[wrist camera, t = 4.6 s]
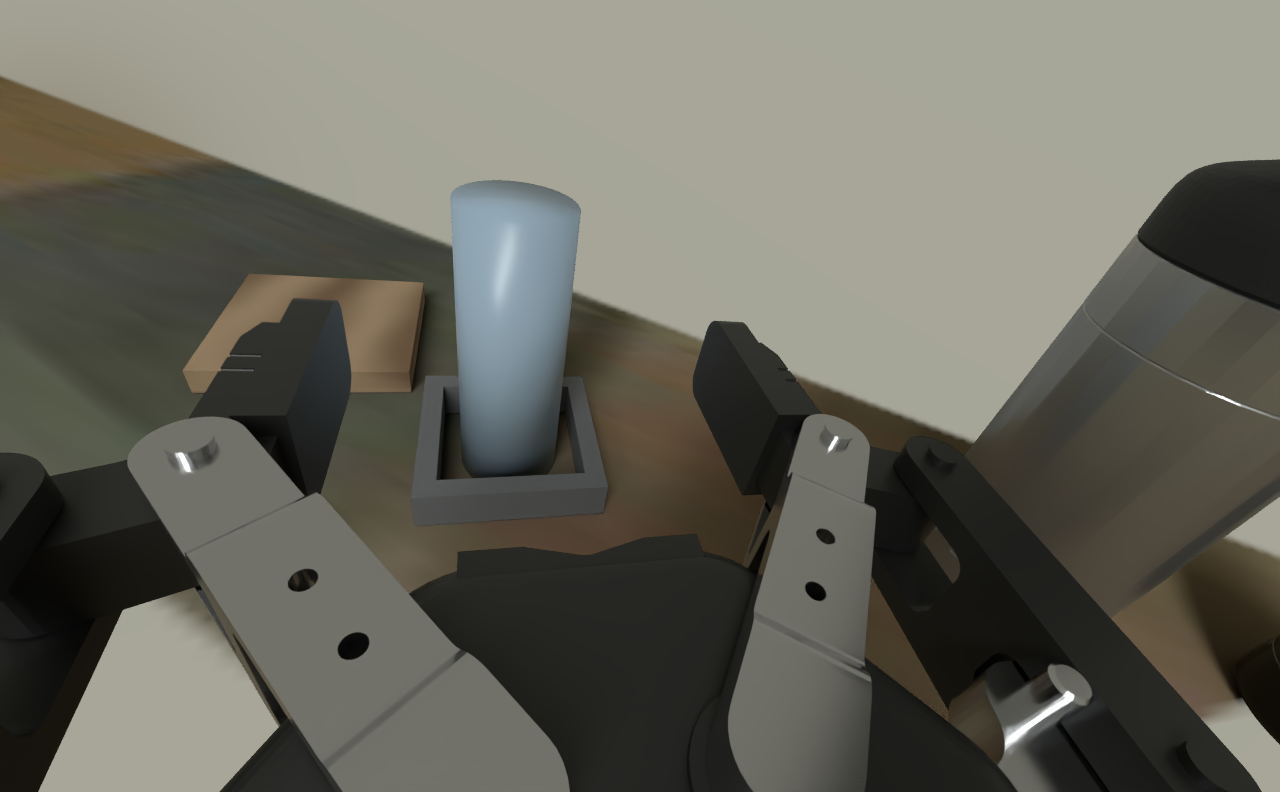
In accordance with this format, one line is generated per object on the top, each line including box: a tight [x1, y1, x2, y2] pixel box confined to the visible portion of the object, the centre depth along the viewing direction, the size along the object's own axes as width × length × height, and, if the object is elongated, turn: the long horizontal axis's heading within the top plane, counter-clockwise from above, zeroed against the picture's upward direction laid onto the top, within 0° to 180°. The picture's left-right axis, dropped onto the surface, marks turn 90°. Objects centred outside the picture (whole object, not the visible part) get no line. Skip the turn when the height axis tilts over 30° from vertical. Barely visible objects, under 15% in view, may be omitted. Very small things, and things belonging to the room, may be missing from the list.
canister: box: [450, 180, 581, 478], centre depth 25 cm, size 5×5×14 cm
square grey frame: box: [411, 376, 608, 526], centre depth 29 cm, size 9×9×2 cm
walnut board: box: [183, 274, 425, 393], centre depth 34 cm, size 11×11×2 cm
